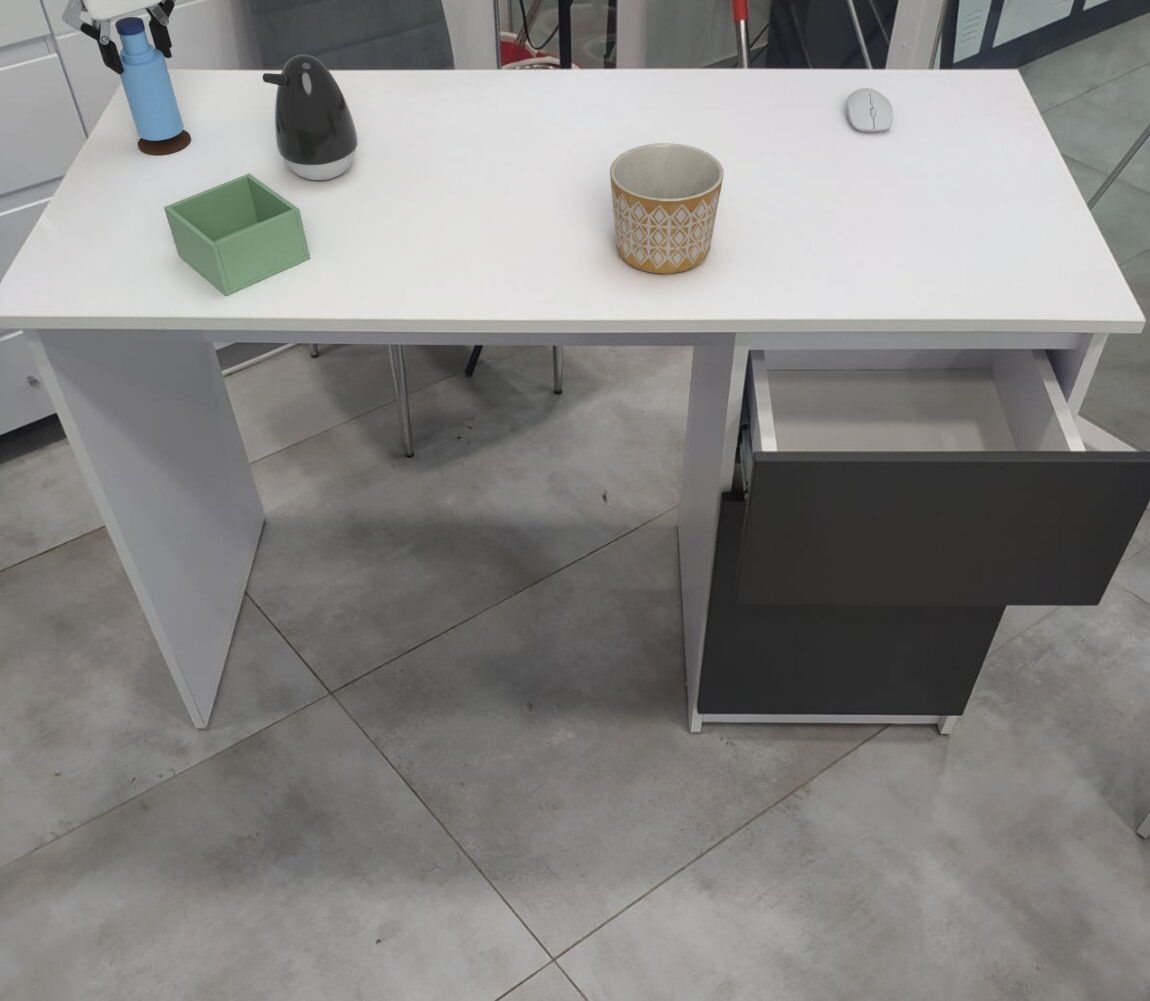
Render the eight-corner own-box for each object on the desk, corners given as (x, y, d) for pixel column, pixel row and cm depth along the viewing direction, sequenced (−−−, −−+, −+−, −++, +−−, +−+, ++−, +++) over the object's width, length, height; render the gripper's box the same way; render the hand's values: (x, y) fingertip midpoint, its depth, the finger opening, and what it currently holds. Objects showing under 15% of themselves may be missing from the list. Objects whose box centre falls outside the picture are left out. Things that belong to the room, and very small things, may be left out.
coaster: (153, 160, 148) (152, 157, 148) (129, 142, 152) (128, 139, 152) (200, 143, 152) (199, 140, 151) (175, 125, 155) (175, 122, 155)
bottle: (150, 145, 148) (117, 36, 137) (130, 129, 151) (96, 22, 141) (191, 130, 150) (161, 22, 140) (170, 115, 154) (140, 8, 143)
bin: (226, 296, 126) (211, 246, 122) (178, 256, 132) (163, 206, 127) (310, 258, 131) (299, 208, 127) (261, 221, 137) (249, 173, 133)
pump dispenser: (269, 167, 147) (243, 53, 136) (339, 144, 151) (319, 32, 140) (303, 199, 141) (279, 83, 130) (376, 174, 145) (358, 59, 134)
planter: (618, 218, 137) (619, 138, 129) (721, 227, 135) (728, 147, 127) (600, 276, 128) (600, 194, 120) (710, 286, 126) (717, 204, 119)
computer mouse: (850, 135, 150) (854, 114, 148) (840, 102, 157) (843, 81, 155) (895, 135, 150) (899, 114, 148) (882, 102, 157) (886, 81, 155)
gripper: (148, -112, 137) (187, 34, 150) (12, -78, 129) (64, 73, 142) (177, -97, 133) (214, 52, 146) (38, -61, 125) (90, 93, 138)
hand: (140, 61), depth 144 cm, fingers closed on bottle, 6 cm apart
